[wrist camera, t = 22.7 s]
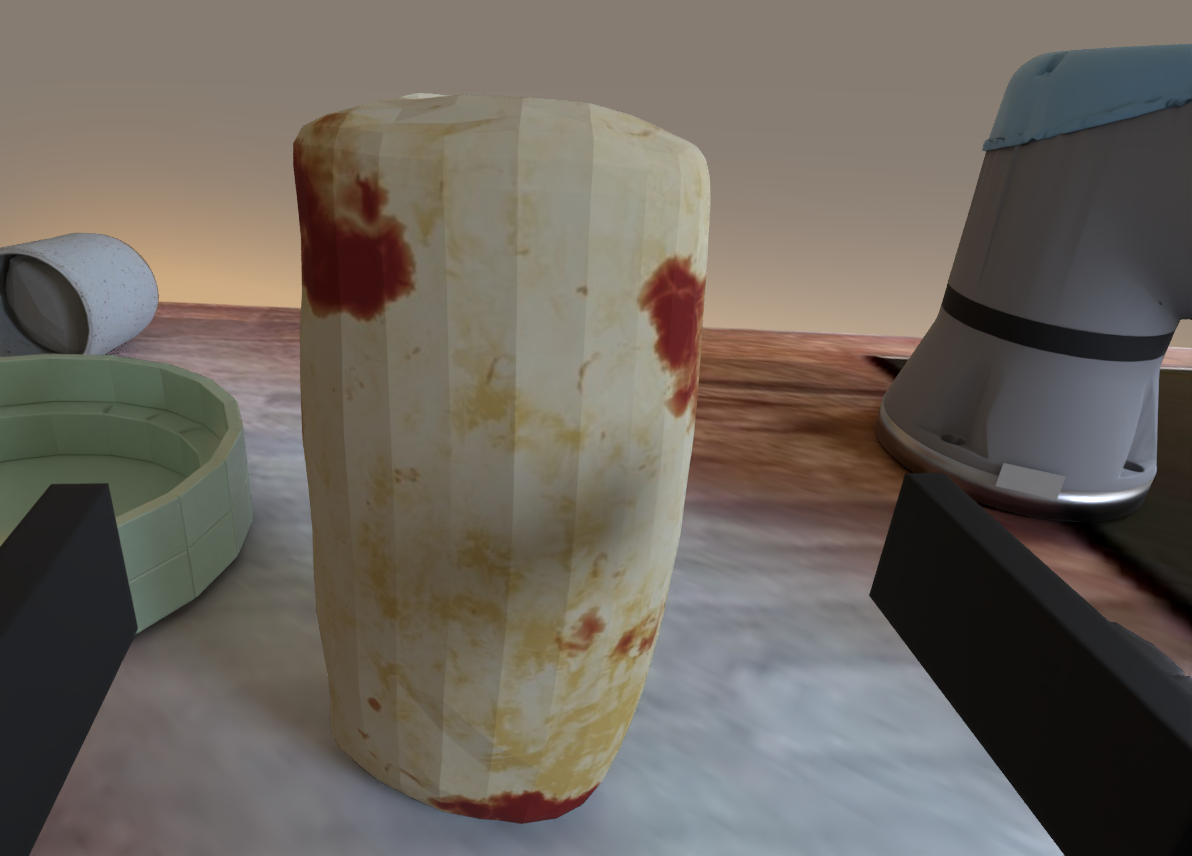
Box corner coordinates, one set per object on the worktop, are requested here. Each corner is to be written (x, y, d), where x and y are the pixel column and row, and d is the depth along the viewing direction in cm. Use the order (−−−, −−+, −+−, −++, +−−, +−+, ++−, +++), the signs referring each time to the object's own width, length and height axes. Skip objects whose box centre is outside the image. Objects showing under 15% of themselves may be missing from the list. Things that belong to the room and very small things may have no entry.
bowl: (-2, 422, 43) (-26, 333, 40) (324, 477, 41) (318, 386, 38) (-462, 654, 26) (-543, 525, 24) (43, 764, 24) (5, 635, 22)
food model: (290, 837, 23) (201, 72, 14) (372, 672, 29) (345, 63, 20) (631, 889, 22) (758, 130, 14) (643, 711, 28) (736, 103, 20)
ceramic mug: (175, 338, 55) (156, 224, 52) (104, 384, 48) (77, 255, 44) (21, 325, 55) (-8, 211, 52) (-74, 370, 48) (-115, 240, 44)
